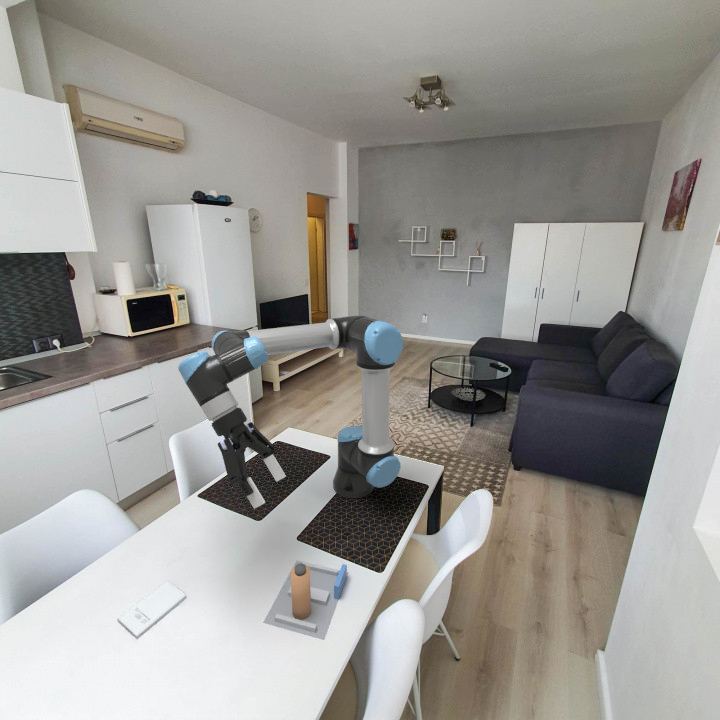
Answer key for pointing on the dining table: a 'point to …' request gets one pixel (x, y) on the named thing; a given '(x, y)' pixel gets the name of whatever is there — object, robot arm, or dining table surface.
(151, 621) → the external hard drive
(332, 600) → the gray ribbed plate
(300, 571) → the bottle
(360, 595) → the dining table surface
